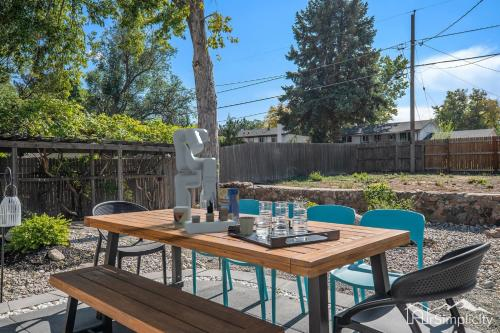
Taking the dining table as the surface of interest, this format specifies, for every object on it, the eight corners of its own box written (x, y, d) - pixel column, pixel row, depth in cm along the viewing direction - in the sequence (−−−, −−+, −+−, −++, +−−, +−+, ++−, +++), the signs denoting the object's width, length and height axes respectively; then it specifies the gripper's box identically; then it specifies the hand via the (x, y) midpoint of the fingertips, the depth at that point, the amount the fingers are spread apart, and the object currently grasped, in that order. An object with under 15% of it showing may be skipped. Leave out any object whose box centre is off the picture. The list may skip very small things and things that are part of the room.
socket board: (184, 230, 215) (184, 221, 215) (228, 227, 225) (228, 219, 225) (189, 233, 204) (189, 224, 204) (235, 230, 214) (235, 221, 214)
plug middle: (205, 227, 216) (205, 213, 216) (212, 226, 217) (212, 212, 217) (207, 228, 212) (207, 213, 212) (214, 227, 214) (214, 213, 214)
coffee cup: (169, 227, 226) (169, 207, 226) (179, 225, 234) (179, 206, 234) (182, 228, 221) (182, 207, 221) (192, 226, 230) (192, 206, 230)
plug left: (191, 230, 213) (191, 215, 213) (198, 229, 214) (198, 215, 214) (193, 231, 209) (193, 216, 209) (200, 230, 211) (200, 215, 211)
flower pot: (258, 233, 204) (258, 216, 204) (252, 236, 195) (252, 219, 196) (241, 232, 208) (241, 216, 208) (235, 235, 199) (235, 218, 199)
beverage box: (226, 222, 246) (225, 188, 246) (239, 224, 239) (238, 188, 240) (218, 224, 241) (218, 188, 241) (231, 225, 234) (231, 189, 234)
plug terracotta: (219, 221, 219) (219, 207, 219) (225, 220, 220) (225, 206, 220) (221, 222, 215) (221, 207, 215) (228, 221, 217) (228, 207, 217)
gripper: (199, 180, 220) (200, 212, 220) (207, 180, 207) (207, 214, 206) (212, 179, 223) (212, 211, 223) (220, 180, 209) (220, 214, 209)
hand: (210, 213), depth 215 cm, fingers closed
